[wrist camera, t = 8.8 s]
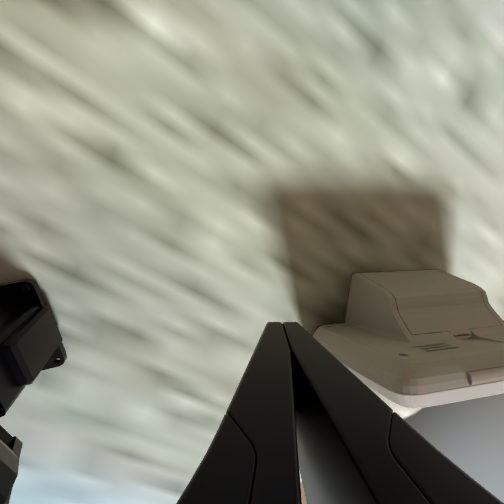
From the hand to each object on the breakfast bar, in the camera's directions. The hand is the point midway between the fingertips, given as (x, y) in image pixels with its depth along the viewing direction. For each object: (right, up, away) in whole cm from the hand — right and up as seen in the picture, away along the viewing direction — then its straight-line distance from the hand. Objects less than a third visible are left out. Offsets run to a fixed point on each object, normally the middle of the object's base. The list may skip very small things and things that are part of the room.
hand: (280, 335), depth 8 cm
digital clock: (+12, -3, +18) cm, 22 cm away
